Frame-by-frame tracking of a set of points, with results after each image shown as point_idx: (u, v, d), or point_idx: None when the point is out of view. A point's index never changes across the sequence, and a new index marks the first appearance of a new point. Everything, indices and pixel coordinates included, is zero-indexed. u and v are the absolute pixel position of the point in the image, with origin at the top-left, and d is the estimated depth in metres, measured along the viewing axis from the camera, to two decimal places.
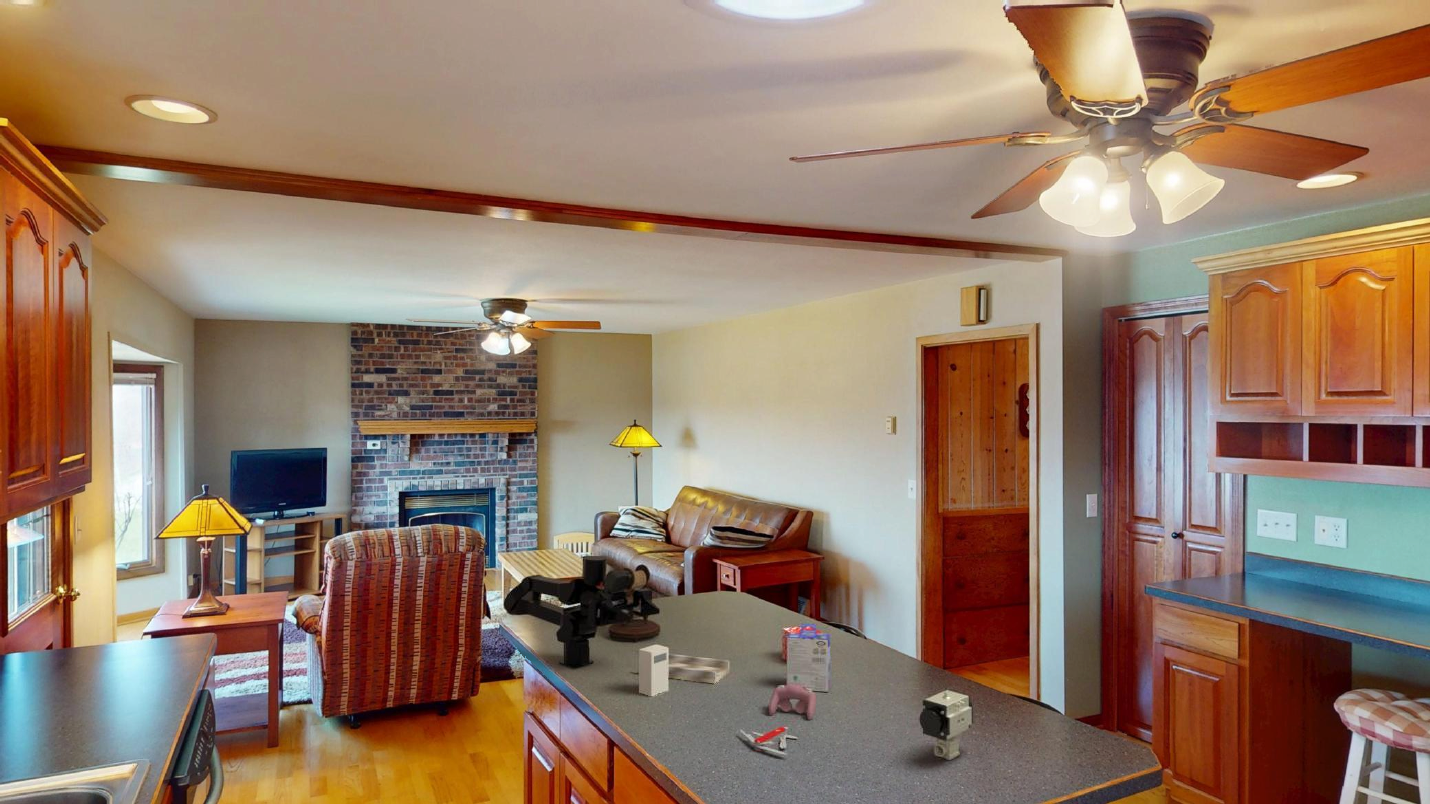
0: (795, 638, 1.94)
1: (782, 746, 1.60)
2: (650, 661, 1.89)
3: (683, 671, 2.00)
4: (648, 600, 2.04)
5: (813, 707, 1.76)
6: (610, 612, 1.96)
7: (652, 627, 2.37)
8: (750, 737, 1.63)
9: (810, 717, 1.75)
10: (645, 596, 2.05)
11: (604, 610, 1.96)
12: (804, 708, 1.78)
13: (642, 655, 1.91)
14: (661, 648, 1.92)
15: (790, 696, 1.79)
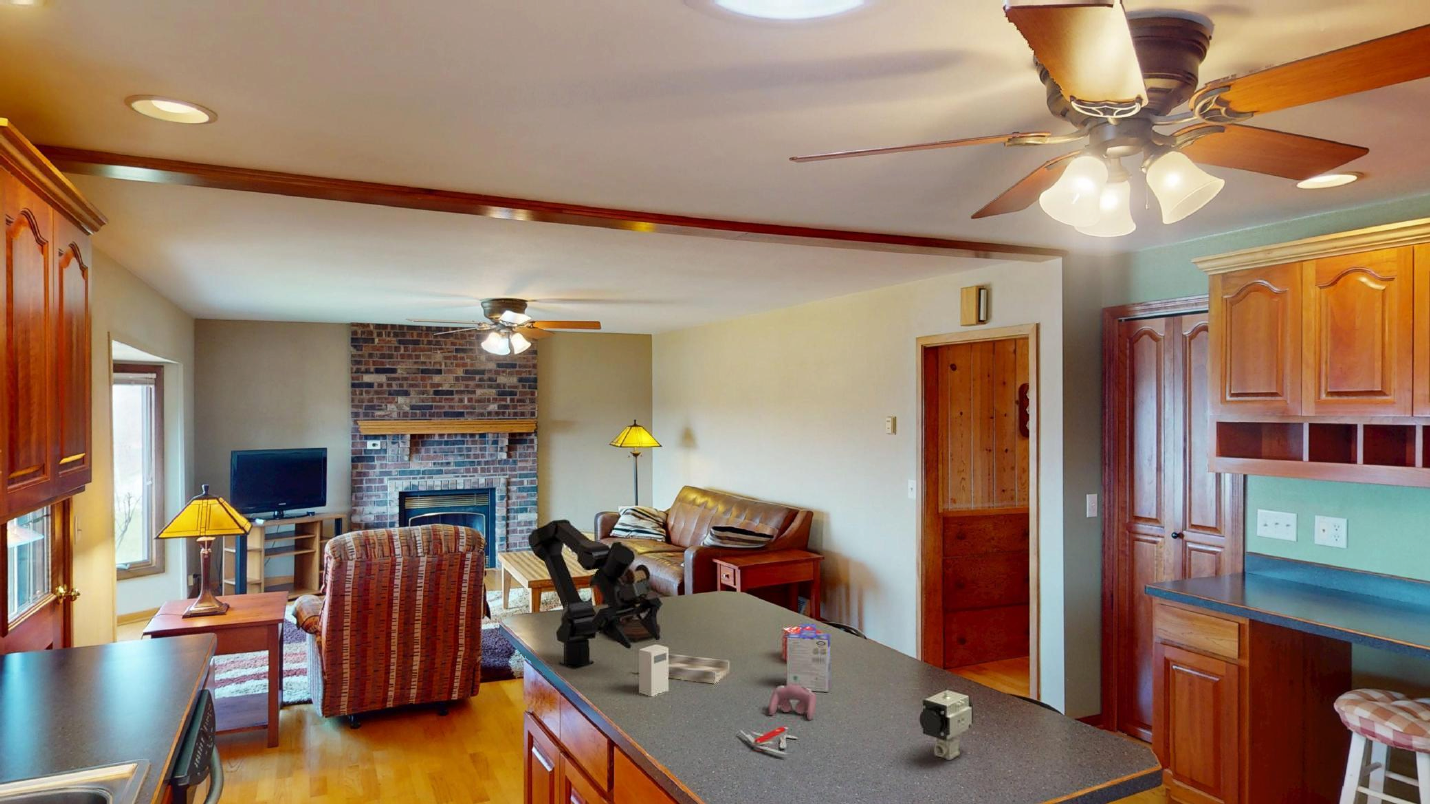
0: (795, 638, 1.94)
1: (782, 746, 1.60)
2: (650, 661, 1.89)
3: (683, 671, 2.00)
4: (654, 618, 2.00)
5: (813, 708, 1.76)
6: (614, 627, 1.92)
7: None
8: (750, 737, 1.63)
9: (810, 718, 1.74)
10: (653, 612, 2.00)
11: (609, 624, 1.92)
12: (804, 708, 1.78)
13: (642, 655, 1.91)
14: (661, 648, 1.92)
15: (790, 696, 1.79)
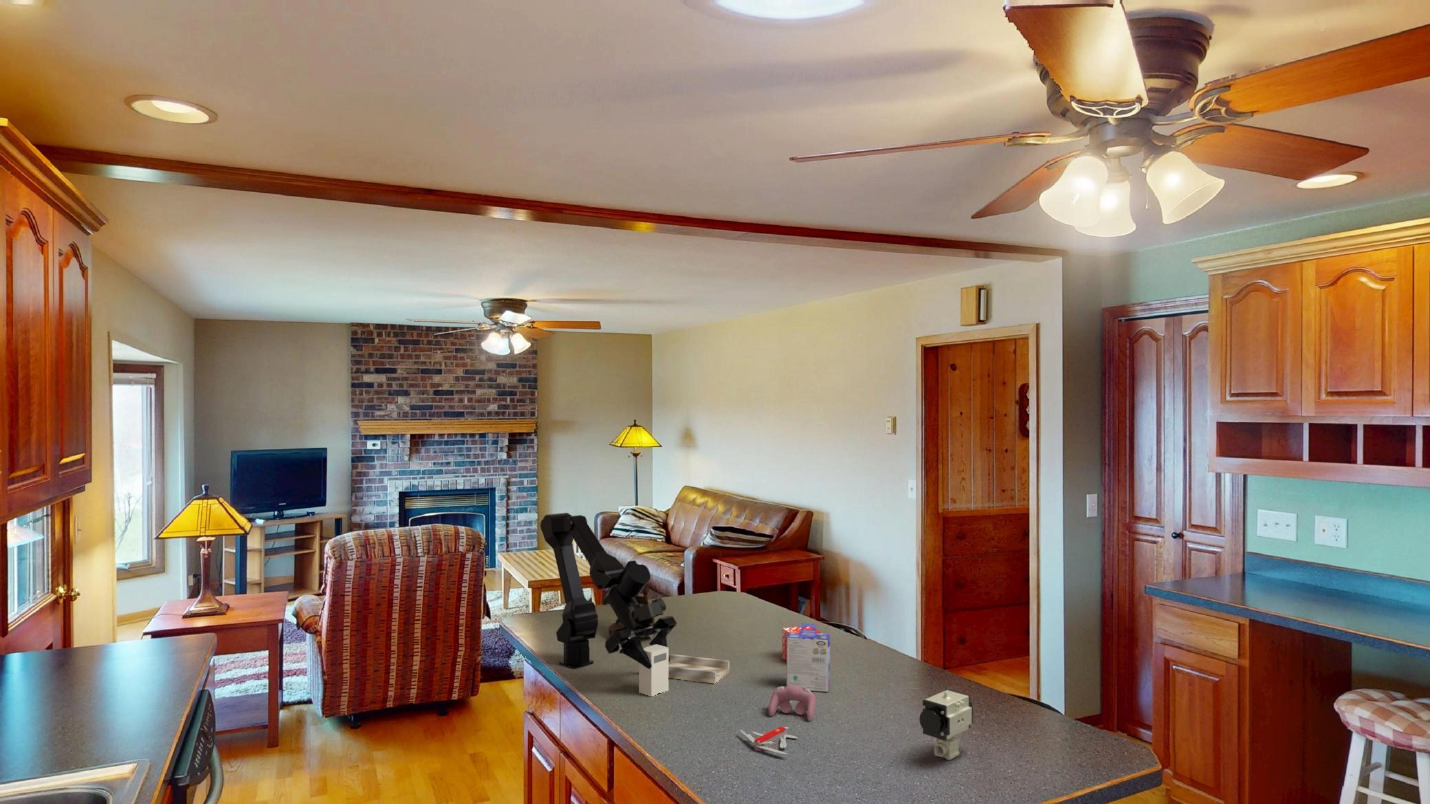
0: (795, 638, 1.94)
1: (782, 746, 1.60)
2: (650, 661, 1.89)
3: (683, 671, 2.00)
4: (664, 639, 1.96)
5: (813, 708, 1.75)
6: (634, 646, 1.91)
7: None
8: (750, 737, 1.63)
9: (810, 718, 1.74)
10: (663, 634, 1.96)
11: (630, 644, 1.90)
12: (804, 709, 1.77)
13: None
14: (661, 648, 1.92)
15: (790, 697, 1.78)
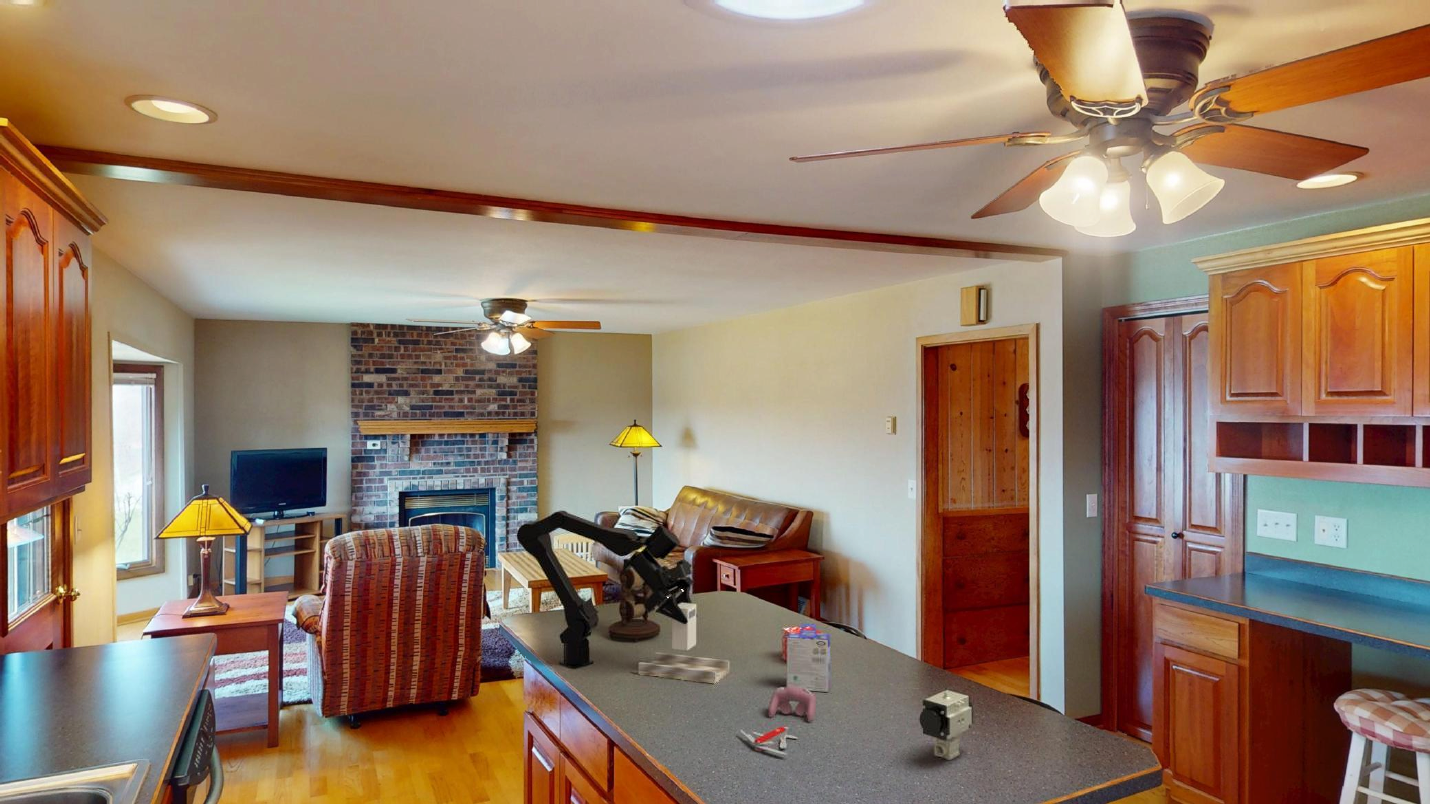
0: (795, 638, 1.94)
1: (782, 746, 1.60)
2: (686, 617, 2.03)
3: (683, 671, 2.00)
4: (688, 597, 2.10)
5: (813, 709, 1.75)
6: (670, 605, 2.03)
7: (652, 627, 2.37)
8: (750, 737, 1.63)
9: (810, 719, 1.73)
10: (687, 592, 2.10)
11: (667, 602, 2.02)
12: (804, 710, 1.77)
13: None
14: (691, 605, 2.06)
15: (790, 698, 1.78)
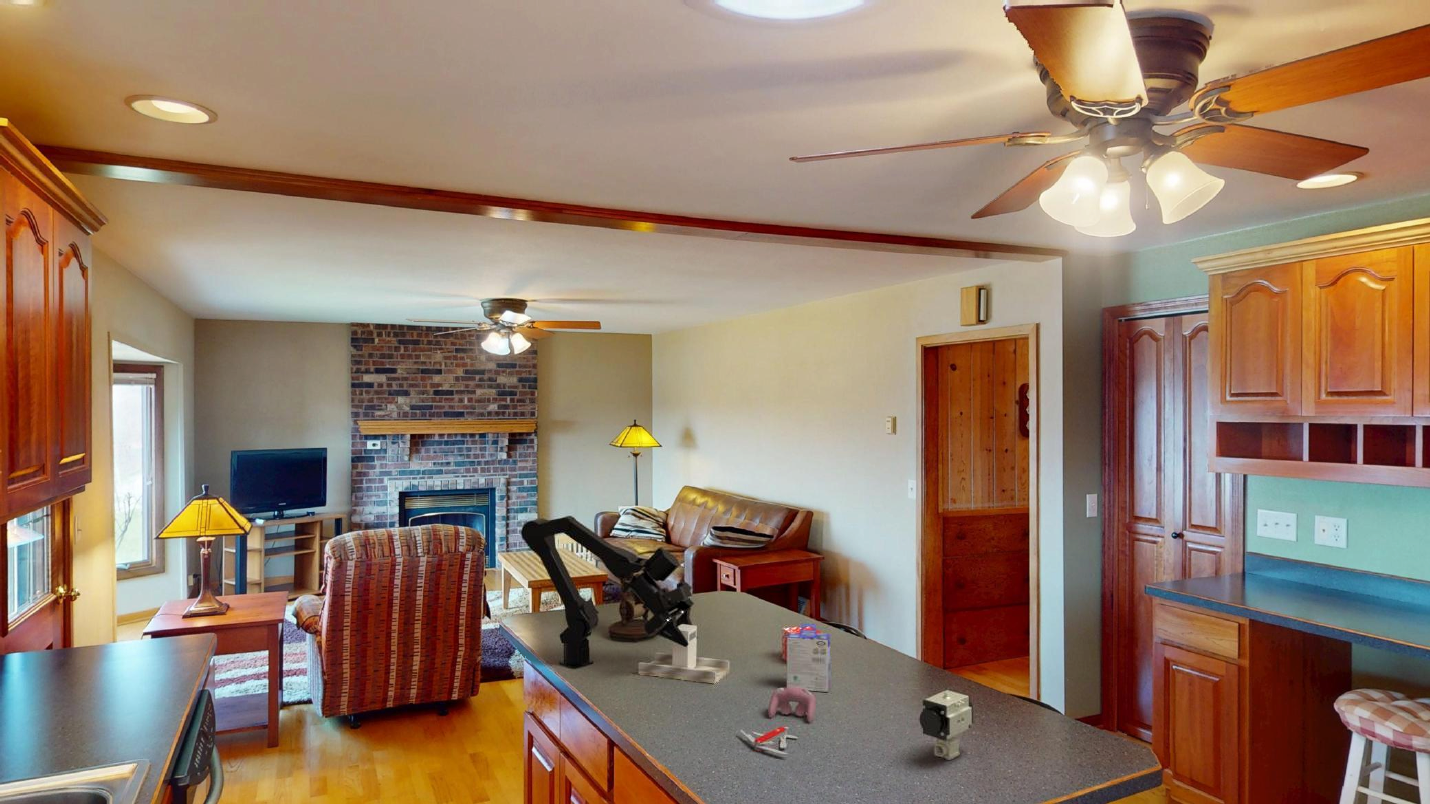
0: (795, 638, 1.94)
1: (782, 746, 1.60)
2: (686, 639, 2.03)
3: (683, 671, 2.00)
4: (689, 619, 2.10)
5: (813, 710, 1.74)
6: (670, 627, 2.03)
7: None
8: (750, 737, 1.63)
9: (810, 720, 1.73)
10: (688, 614, 2.10)
11: (667, 625, 2.01)
12: (804, 711, 1.76)
13: None
14: (691, 627, 2.06)
15: (790, 699, 1.77)
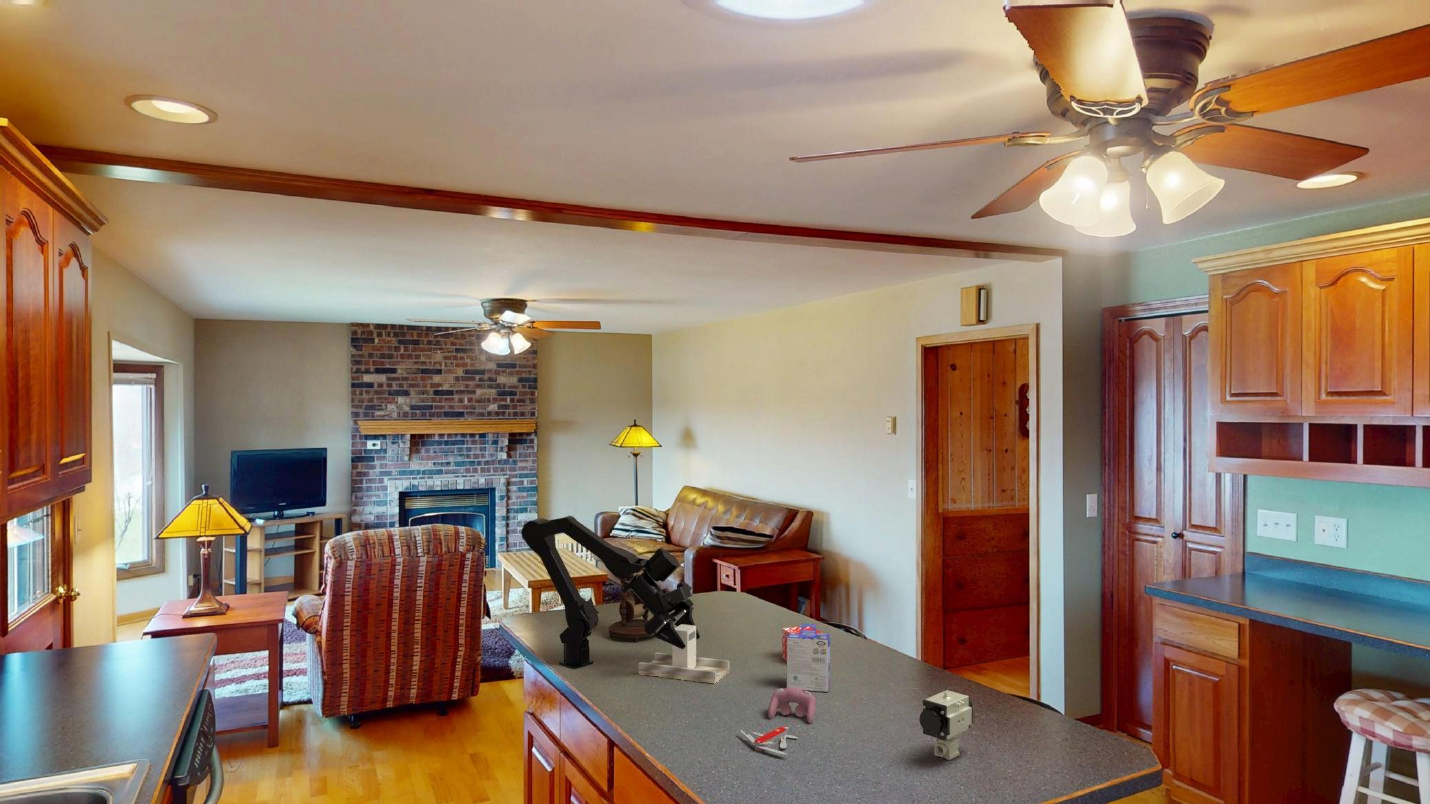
0: (795, 638, 1.94)
1: (782, 746, 1.60)
2: (685, 639, 2.03)
3: (683, 671, 2.00)
4: (691, 618, 2.11)
5: (813, 710, 1.74)
6: (667, 630, 2.01)
7: None
8: (750, 737, 1.63)
9: (810, 721, 1.73)
10: (690, 613, 2.11)
11: (664, 627, 2.00)
12: (804, 711, 1.76)
13: None
14: (690, 627, 2.06)
15: (789, 699, 1.77)
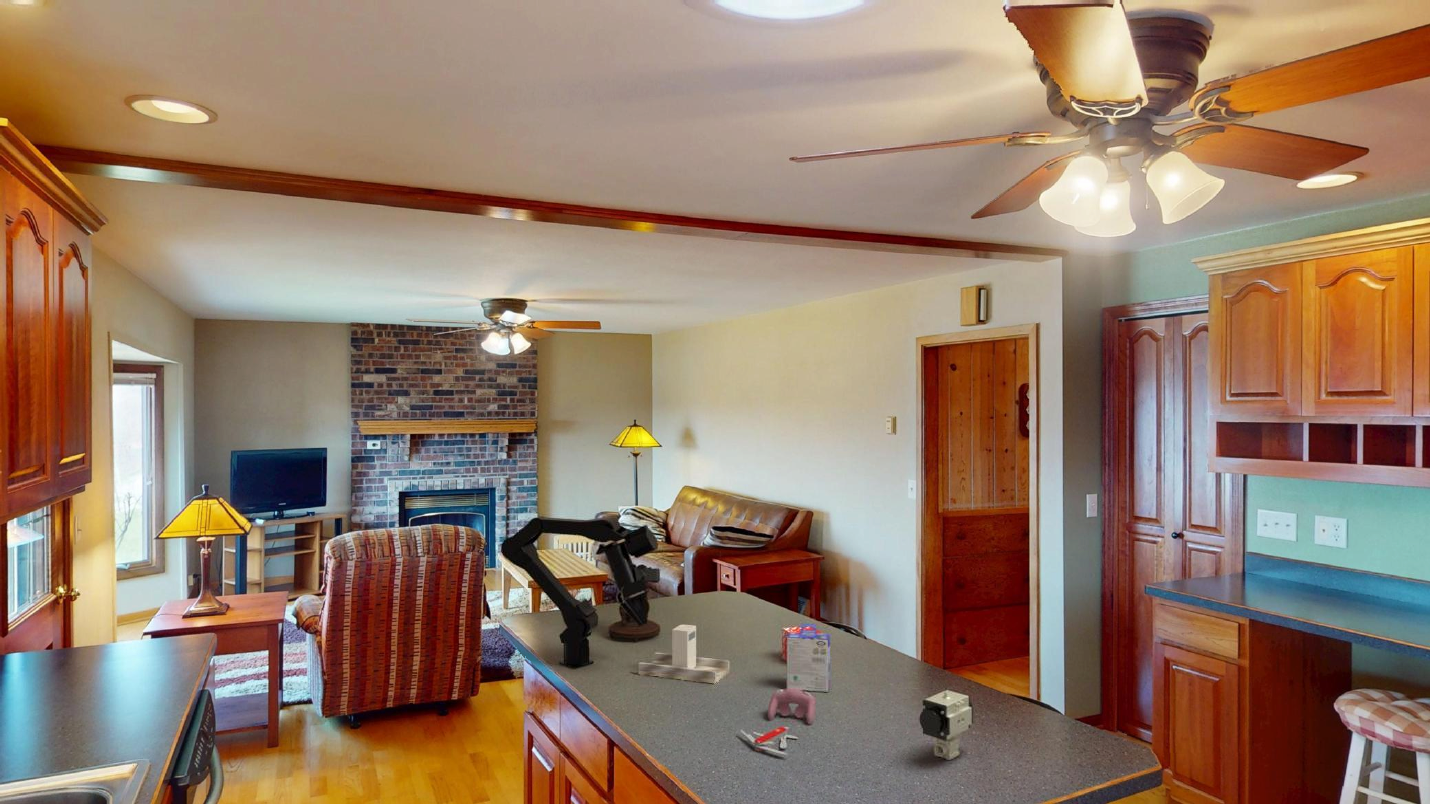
0: (795, 638, 1.94)
1: (782, 746, 1.60)
2: (685, 639, 2.03)
3: (683, 671, 2.00)
4: None
5: (813, 711, 1.73)
6: (638, 600, 2.03)
7: (652, 627, 2.37)
8: (750, 737, 1.63)
9: (810, 722, 1.72)
10: None
11: (639, 596, 2.02)
12: (803, 712, 1.75)
13: (676, 634, 2.04)
14: (690, 627, 2.06)
15: (789, 700, 1.76)
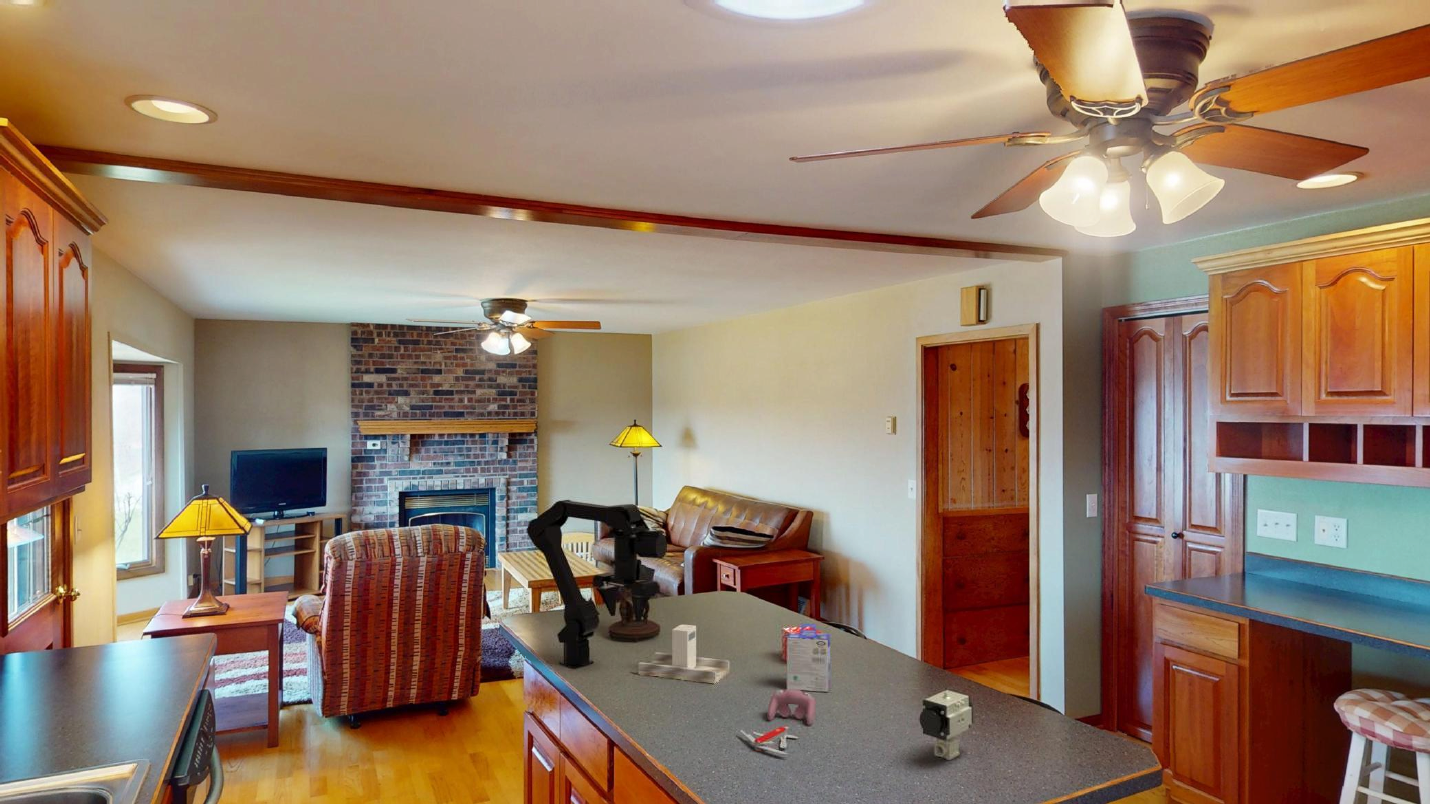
0: (795, 638, 1.94)
1: (782, 746, 1.60)
2: (685, 639, 2.03)
3: (683, 671, 2.00)
4: None
5: (813, 712, 1.73)
6: (642, 598, 2.04)
7: (652, 627, 2.37)
8: (750, 737, 1.63)
9: (810, 722, 1.72)
10: None
11: None
12: (803, 713, 1.75)
13: (676, 634, 2.04)
14: (690, 627, 2.06)
15: (789, 701, 1.76)
